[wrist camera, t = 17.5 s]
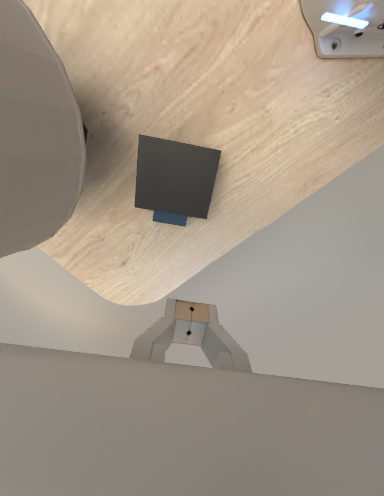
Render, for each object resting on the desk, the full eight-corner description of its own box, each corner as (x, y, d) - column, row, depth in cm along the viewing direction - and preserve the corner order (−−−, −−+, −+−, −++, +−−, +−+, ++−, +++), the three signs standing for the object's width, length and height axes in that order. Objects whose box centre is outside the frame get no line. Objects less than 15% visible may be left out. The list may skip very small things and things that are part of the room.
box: (193, 172, 42) (194, 176, 36) (185, 217, 45) (185, 226, 40) (161, 167, 41) (158, 170, 36) (156, 212, 45) (152, 221, 40)
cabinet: (215, 149, 40) (221, 150, 32) (203, 206, 44) (206, 219, 37) (148, 136, 39) (139, 134, 31) (143, 196, 43) (134, 207, 36)
